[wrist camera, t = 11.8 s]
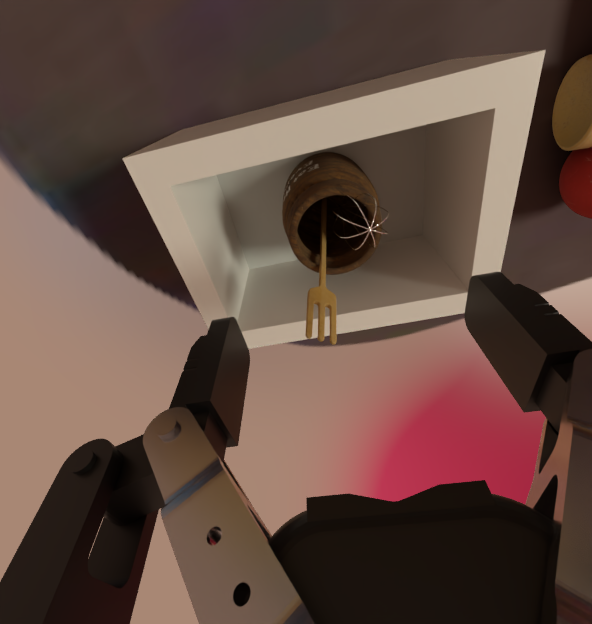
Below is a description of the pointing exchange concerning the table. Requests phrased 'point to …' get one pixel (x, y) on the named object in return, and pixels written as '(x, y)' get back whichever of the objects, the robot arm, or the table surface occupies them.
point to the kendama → (575, 136)
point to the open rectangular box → (384, 177)
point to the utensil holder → (330, 225)
